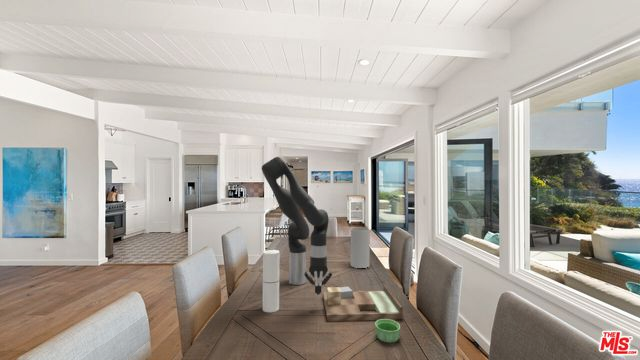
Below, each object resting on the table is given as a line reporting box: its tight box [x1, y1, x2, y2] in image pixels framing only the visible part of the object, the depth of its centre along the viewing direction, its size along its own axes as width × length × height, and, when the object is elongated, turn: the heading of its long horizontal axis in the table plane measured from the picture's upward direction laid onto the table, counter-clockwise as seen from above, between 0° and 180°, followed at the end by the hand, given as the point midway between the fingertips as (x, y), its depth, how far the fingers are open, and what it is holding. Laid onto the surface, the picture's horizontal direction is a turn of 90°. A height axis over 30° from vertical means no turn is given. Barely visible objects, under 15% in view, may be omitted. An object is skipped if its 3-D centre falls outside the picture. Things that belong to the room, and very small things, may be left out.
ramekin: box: [374, 319, 401, 343], centre depth 101 cm, size 9×9×4 cm
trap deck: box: [322, 285, 404, 322], centre depth 125 cm, size 31×24×5 cm
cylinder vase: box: [350, 226, 371, 269], centre depth 185 cm, size 12×12×25 cm
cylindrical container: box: [262, 249, 280, 313], centre depth 122 cm, size 7×7×25 cm
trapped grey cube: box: [339, 286, 354, 299], centre depth 131 cm, size 6×6×6 cm
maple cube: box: [326, 286, 341, 305], centre depth 124 cm, size 6×6×6 cm
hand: (318, 293), depth 123 cm, fingers closed
